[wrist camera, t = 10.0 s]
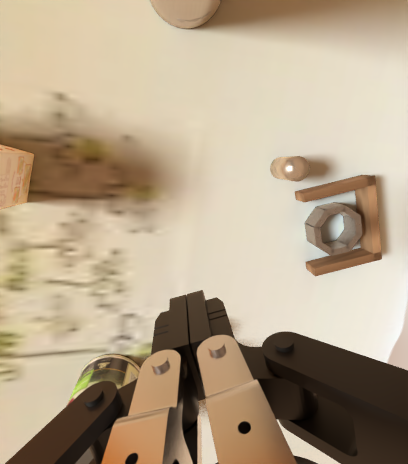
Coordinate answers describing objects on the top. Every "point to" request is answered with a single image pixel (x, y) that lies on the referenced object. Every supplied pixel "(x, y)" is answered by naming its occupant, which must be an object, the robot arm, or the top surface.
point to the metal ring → (347, 236)
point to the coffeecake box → (14, 176)
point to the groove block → (369, 221)
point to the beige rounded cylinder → (290, 168)
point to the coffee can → (104, 370)
